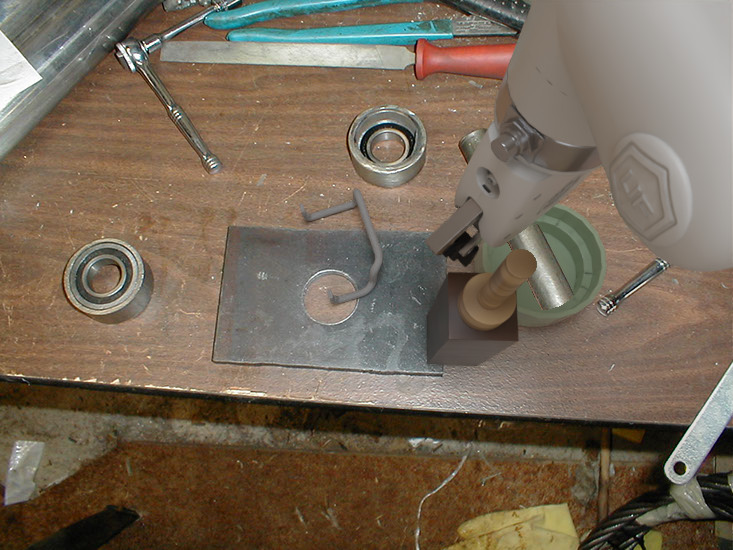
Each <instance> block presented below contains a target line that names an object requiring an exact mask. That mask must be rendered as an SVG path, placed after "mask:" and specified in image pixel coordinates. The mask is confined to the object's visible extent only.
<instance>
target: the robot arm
mask: <svg viewBox="0 0 733 550" xmlns="http://www.w3.org/2000/svg"><path fill="white" fill-rule="evenodd" d="M601 168H603V170H604V174H605V176H606V179H607V182H608V185H609V191H610V194H611V198H612V201H613V204H614V206H615V208H616V211H617V213H618V215H619V216H620V218H621V220H622V221H623V223H624V224H625V225H626V227H627V228H628V229H629V230H630V231H631V233H633V234H634V235H635V236H636V237H637V238H638V240H639V241H641V243H642V244H643V245H644V246H645V247H646V249H648V250H649V251H650V252H651V253H653V255H654V256H656V257H657V258H659V259H660V260H662V261H664V262H665V263H667V264H670V265H672V266H674V267H677V268H680V269H681V270H686V271H692V272H701V273H703V272H704V273H708V272H718V271H725V270H729V269H732V268H733V0H531V4H530V6H529V8H528V11H527V14H526V16H525V19H524V21H523V25H522V28H521V30H520V32H519V36H518V38H517V41H516V43H515V46H514V49H513V52H512V55H511V57H510V59H509V61H508V65H507V67H506V70H505V73H504V75H503V78H502V81H501V83H500V86H499V88H498V91H497V94H496V97H495V101H494V105H493V121H492V122H491V123H490V125H489V126H488V128H487V129H486V131H485V132H484V134H483V136H482V137H481V139H480V141H479V143H478V144H477V146H476V148H475V149H474V151H473V153H472V155H471V157H470V159H469V161H468V163H467V165H466V166H465V169H464V171H463V172H462V175H461V177H460V180H459V183H458V185H457V187H456V190H455V194H454V208H455V209H456V210H455V211H454V212H453V213H452V214H451V215H450V216H449V217H448V218H447V219H446V220H445V221H444V222H443V223H442V224H441V225H440V226H439V227H437V228H436V230H434V231H433V232H432V233H431V234H430V235H429V236H428V237H427V238H426V239H425V240H424V244H425V245H426V246H427V247H428V248H429V250H430V251H431V252H432V253H433V254H434V255H435V256H442V255H443V256H444V257H445V258H449V259H450V260H451V261H453V262H456V261H457V260H458V261H459V263H460V264H461V265H462V266H463V267H465V268H467V267H468V266H470V265H471V264H472V262H473V261H474V259H475V256H476V254H477V252H478V250H479V244H480V243H481V241H482V240H484V241H485V242H486V243H487V244H488V245H489V246H490V247H501V246H503V245H504V244H506V243H507V242H509V241H510V240H512V239H513V238H514V237H515V236H517V235H518V234H519V233H521V232H522V231H523V230H525V229H526V228H527V227H528V226H530V225H531V224H532V223H533V222H535V221H536V220H537V219H539V218H540V217H541V216H542V215H544V214H545V213H546V212H547V211H549V210H550V209H551V208H552V207H554V206H555V205H556V204H557V203H558V204H560V202H562V201H563V200H564V199H565V198H566V197H568V196H569V194H571V193H572V192H574V191H575V190H576V189H577V188H579V186H580V185H581V184H583V183H584V182H585V181H586V180H587V179H588V178H589V177H590V176H591V174H593V172H594V171H596V170H598V169H601ZM471 226H473V227H474V228H475V229H476V230H477V231H476V232H475V234H474V235H473V236H471V234H469V233H468V231H467V230H468V229H470V227H471Z"/></svg>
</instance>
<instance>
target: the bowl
mask: <svg viewBox="0 0 733 550" xmlns="http://www.w3.org/2000/svg"><path fill="white" fill-rule="evenodd" d="M533 223H536V224H538V225H539V227H540V229H541V230H542V232H543V233H544V235H545V237H546V239H547V241H548V243H549V245H550V247H551V249H552V250H553V252H554V254H555V256H556V258H557V260H558V262H559V264H560V266H561V268H562V270H563V272H564V274H565V276H566V278H567V280H568V282H569V284H570V286H571V288H572V290H573V294H574V295H573V297H572V298H571V299H570V300H569V301H567V302H566V303H564V304H563V305H561V306H559V307H555V308H552V309H548V310H541V307H540V305H539V304H538V302H537V300H536V298H535V297H534V295H533V293H532V290H531V288H530V286H529V284H528V282H527V280H526V281H525V282H524V283H523V284H522V285H521V286H520V287H519V288H518V289H517V290H516V291H517V315H518V326H522V327H529V328H530V327H531V328H545V327H548V326H552V325H555V324H559V323H561V322H563V321H565V320H567V319H568V318H570V317H572V316H574V315H576V314H577V313H580V311H582V310H583V309H585V308H586V307H587V306H589V305H590V304H591V303H592V302H593V301H594V300H595V298H596V297H597V295H598V294H599V293H600V292H601V289H602V288H603V286H604V283H605V282H604V281H605V277H606V275H607V270H608V267H607V265H608V264H607V255H606V249H605V246H604V244H603V242H602V239H601V237H600V234H599V232H598V230H596V229H595V227H594V226H593V225H592V224H591V223H590V221H589V220H588V219H587V218H586V217H585V216H584V215H582V214H580V213H579V212H578V211H575V209H573V208H571V207H570V206H567V205H565V204H561V203H557V204H556V205H555V206H554V207H552V208H551V209H550V210H549V211H547V212H546V213H545V214H544V215H542V216H541V217H540V218H539V219H537V220H536V221H535V222H533ZM478 247H479V250H478V252H477V254H476V255H475V257H474V259H473V263H474V264H473V268H474V269H473V270H474V271H473V273H494V272H495V271H496V269H497V268H498V267H499V266H500V264H501V263H502V262H503V261H504V259H505V258H506V257H507V255H508V254H509V253H510V252H511V251H512V250H511V248H510V246H509V244H508V243H506V244H504V245H503V246H501V247H490V246H489V245H488V244H487V243H486V242H485V241H484V240H482V241H481V242H480V243H479V244H478Z"/></svg>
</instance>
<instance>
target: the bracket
mask: <svg viewBox="0 0 733 550" xmlns="http://www.w3.org/2000/svg"><path fill="white" fill-rule="evenodd" d="M355 207H358V211H359V213H360V216H361V219H362V222H363V224H364V225H363V226H364V227H365V230H366V234H367V237H368V239H369V241H370V244H371V247H372V251H373V253H374V254H373V255H374V262H373V263H372V265H371V267H370V269H369V272H368V273H369V278H368V282H367V284H366V285H365V286H364V287H361V288H360V289H358V290H354V291H351V292H347V293H344V294H341V295H335V294H333V292H332V290H331V289H330V288H329V289H326V293H327V296H328V299H329V302H330V303H331V304H342V303H346V302H349V301H353V300H355V299H359V298H362V297H365V296H367V295H369V294H370V293H371V292H372V291H373V290H374V288H375V286H376V285H377V282H378V273H379V270H380V269H381V267H382V264H383V261H384V256H383V250H382V248H381V244H380V241H379V239H378V236H377V233H376V230H375V228H374V224H373V222H372V219H371V216H370V214H369V210H368V208H367V204H366V202H365V199H364V195H363V194H362V191H361V190H360V189H359V188H357V187H356V188H354V189H353V190H352V199H351V200H349V201H347V202H343V203H340V204H337V205H334V206H331V207H327V208H324V209H321V210H317V211H315V212H312V213H309V212H308V211H306V208H305V205H304V204H303V203H302V202H301V203H299V208H300V212H301V215H302V218H303V220H305V221H307V222H312V221H316V220H319V219H322V218H325V217H328V216H331V215H335V214H338V213H340V212H344V211H347V210H351V209H353V208H355Z"/></svg>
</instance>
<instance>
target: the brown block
mask: <svg viewBox="0 0 733 550" xmlns="http://www.w3.org/2000/svg"><path fill="white" fill-rule="evenodd" d="M478 274H481V273H474V272H465V271H464V272H460V271H448V272H447V273H446V275H445V277H444V279H443V281H442V284H441V286H440V288H439V290H438V291H437V294H436V296H435V298H434V300H433V302H432V304H431V306H430V308H429V310H428V312H427V314H426V365H427V364H436V365H435V366H460V367H477V366H479V365H480V364H482V363H484V362H485V361H487V360H489V359H491V358H493V357H494V356H496V355H497V354H499V353H501V352H502V351H504V350H506V349H508V348H509V347H511V346H513V345H515V344H516V343H518V342H519V324H518V315H517V300H516V307H515V310H514V312H513V314H512V315H511V316H510V317H509V318H508V319H507V320H506V321H505V322H503V323H502V324H501V325H500V326H498V327H497V328H495V329H492V330H488V331H480V330H476V329H473V328H471V327H470V326H468V325H467V324H466V323H465V322H464V321H463V320H462V318H461V317H460V315H459V312H458V305H457V304H458V298H459V295H460V293H461V292H462V290H463V289H464V287H465V285H466V284H467V283H468V281H469V280H470V279H471V278H473V277H474V276H476V275H478ZM515 293H516V299H517V291H515Z"/></svg>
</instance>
